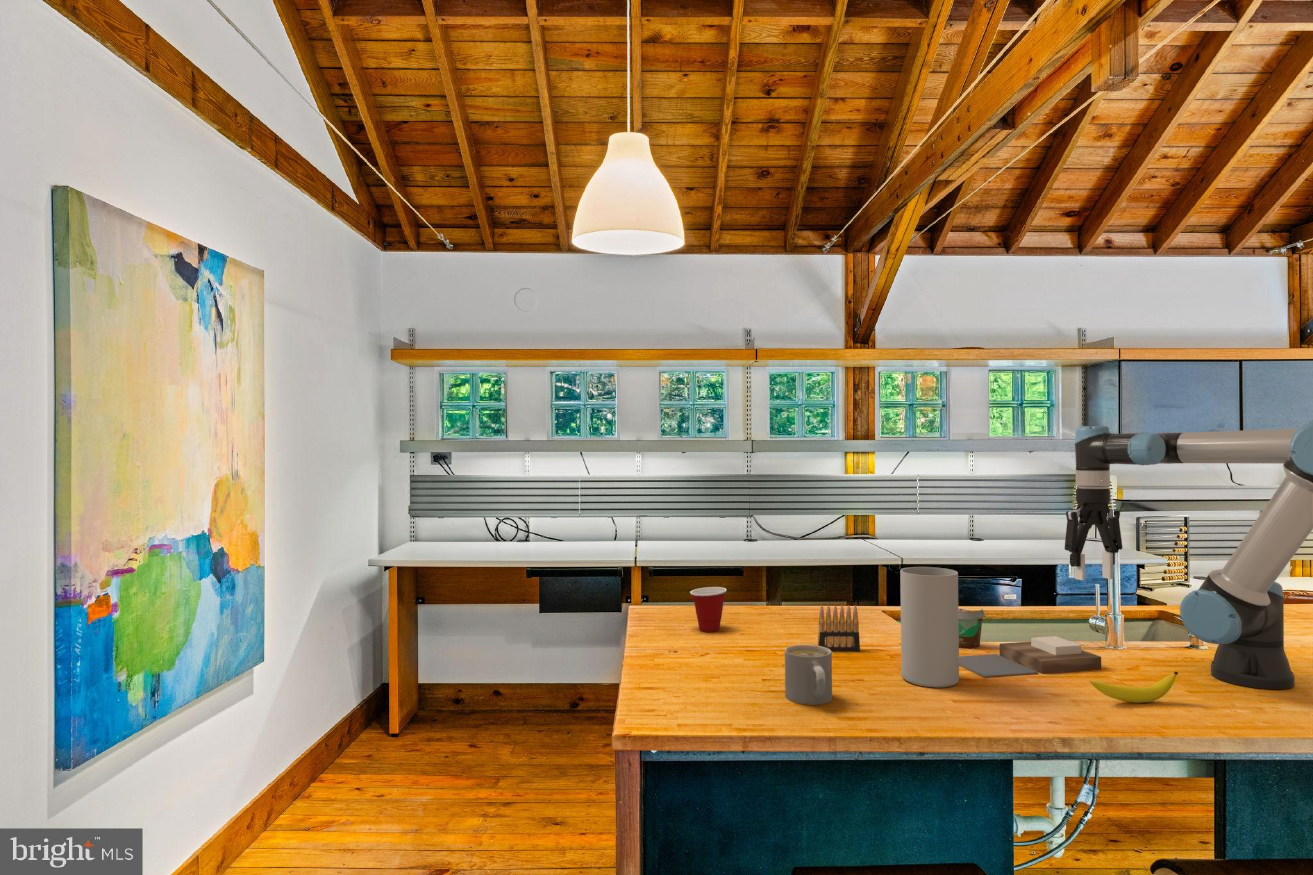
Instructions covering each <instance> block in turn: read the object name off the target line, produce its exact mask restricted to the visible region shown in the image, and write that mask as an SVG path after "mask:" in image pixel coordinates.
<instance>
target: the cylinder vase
mask: <svg viewBox="0 0 1313 875" xmlns="http://www.w3.org/2000/svg"><path fill="white" fill-rule="evenodd" d="M899 573H900V574H899V575H900V576H899V577H900V584H899V585H900V646H901V647H900V648H901V649H900V651H901V652H900V656H901V658H900V659H901V660H900V662H901V666H900V667H901V668H900V669H901V676H902V678H903V679H904V680H905V681H906V682H908V683H910V684H913V685H915V686H920V687H926V688H938V689H939V688H941V689H942V688H948V687H953V686H955V685H957V684H958V683H959V681H960V666H959V656H960V648H959V624H958V609H959V573H958V571H956V570H954V569H949V568H942V567H933V566H931V567H930V566H913V567H912V566H911V567H904V568H901V569H900V572H899Z"/></svg>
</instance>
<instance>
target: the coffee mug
mask: <svg viewBox="0 0 1313 875" xmlns="http://www.w3.org/2000/svg"><path fill="white" fill-rule="evenodd" d="M784 685H785V686H784V690H785V691H784V692H785V693H784V695H785V698H786V700H788V701H789V702H792V703H796V704H800V705H801V704H802V705H808V706H809V705H810V706H811V705H812V706H815V705H824V704H827V703H829V702H831V701H832V700H833V652H831V650H830V649H828V648H825V647H822V646H818V645H816V644H796V645H790V646H787V647H785V649H784Z"/></svg>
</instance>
